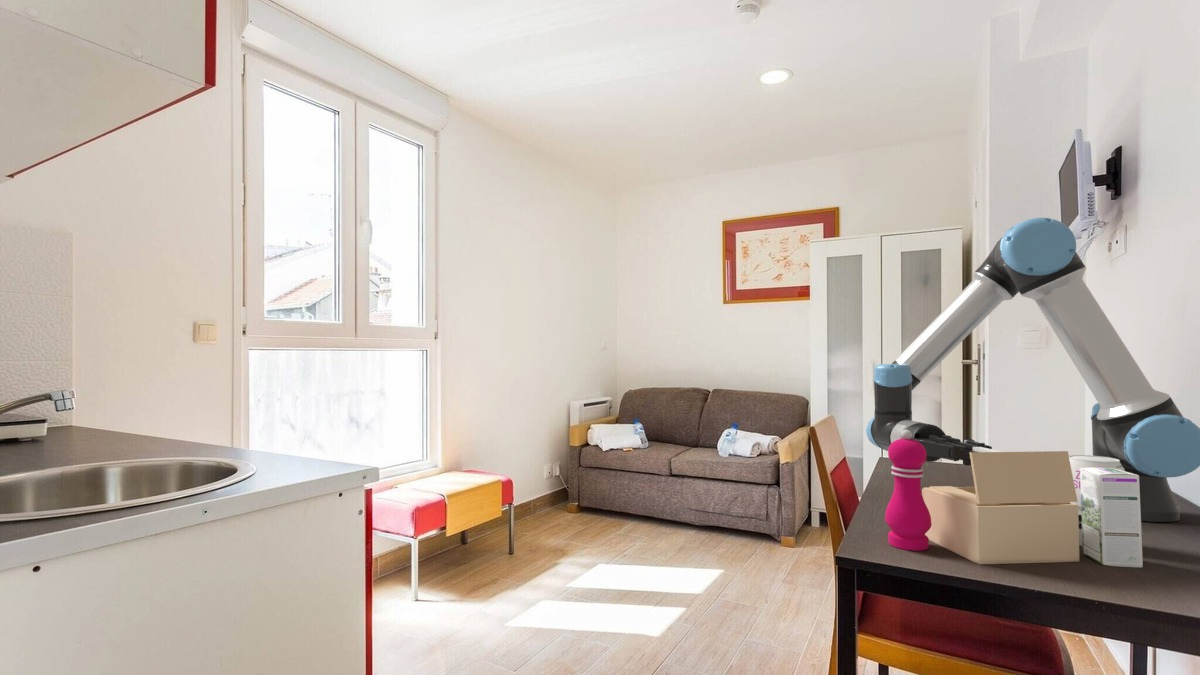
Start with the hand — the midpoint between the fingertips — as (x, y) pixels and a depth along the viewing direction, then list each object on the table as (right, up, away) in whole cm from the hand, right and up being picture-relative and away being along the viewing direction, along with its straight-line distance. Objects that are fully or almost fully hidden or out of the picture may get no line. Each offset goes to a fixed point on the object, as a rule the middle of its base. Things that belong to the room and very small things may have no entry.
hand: (1003, 460), depth 100 cm
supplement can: (+19, -16, +5) cm, 26 cm away
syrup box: (+15, -16, -3) cm, 22 cm away
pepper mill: (-14, -16, +4) cm, 21 cm away
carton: (+1, -16, +2) cm, 16 cm away
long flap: (+1, -6, -4) cm, 8 cm away
